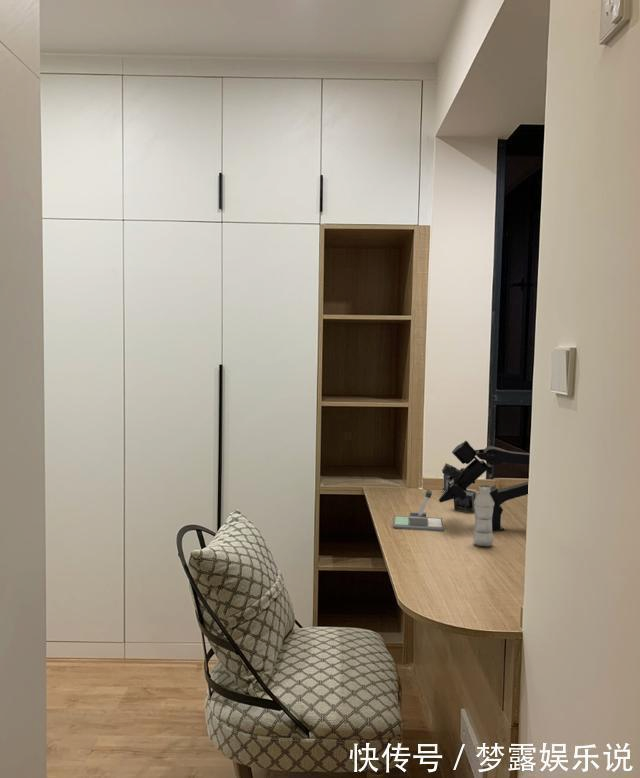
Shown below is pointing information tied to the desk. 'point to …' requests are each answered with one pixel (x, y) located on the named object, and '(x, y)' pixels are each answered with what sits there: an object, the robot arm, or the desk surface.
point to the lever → (424, 502)
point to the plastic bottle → (483, 517)
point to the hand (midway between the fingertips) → (439, 501)
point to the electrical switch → (466, 501)
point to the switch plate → (418, 522)
